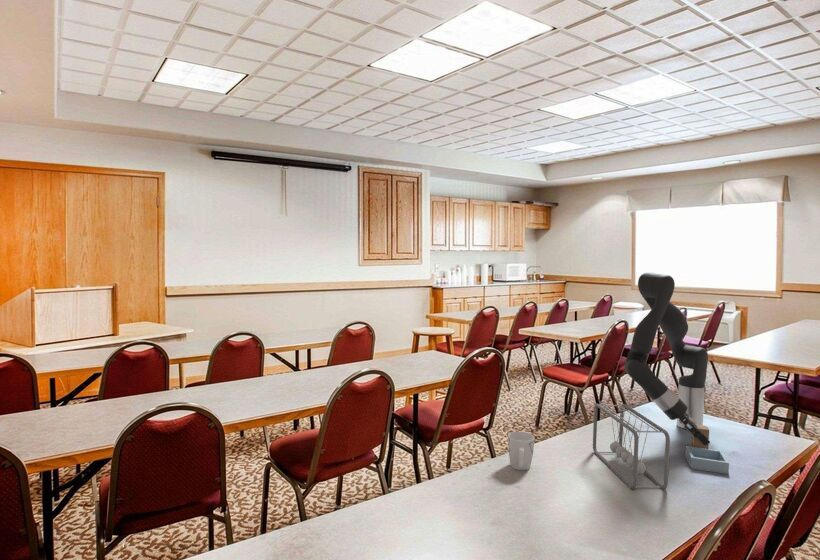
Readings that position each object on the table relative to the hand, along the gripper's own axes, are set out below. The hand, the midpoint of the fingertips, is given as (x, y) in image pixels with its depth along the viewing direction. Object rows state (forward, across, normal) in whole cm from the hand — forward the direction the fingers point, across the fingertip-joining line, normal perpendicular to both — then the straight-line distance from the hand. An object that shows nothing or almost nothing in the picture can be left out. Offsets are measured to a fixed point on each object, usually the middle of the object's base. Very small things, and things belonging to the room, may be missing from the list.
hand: (706, 441), depth 174 cm
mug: (-39, -40, +45) cm, 71 cm away
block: (+2, 0, +4) cm, 5 cm away
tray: (+2, -12, +4) cm, 13 cm away
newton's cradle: (-16, -27, +22) cm, 38 cm away
